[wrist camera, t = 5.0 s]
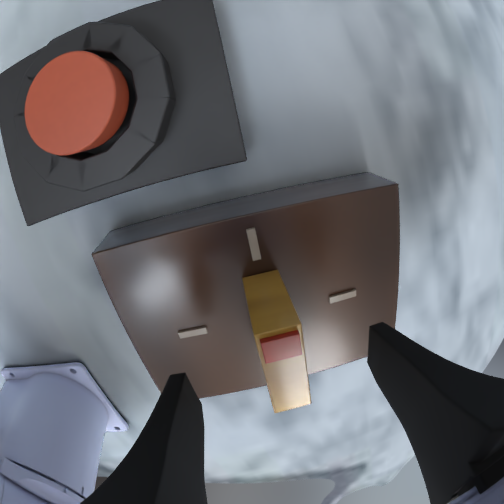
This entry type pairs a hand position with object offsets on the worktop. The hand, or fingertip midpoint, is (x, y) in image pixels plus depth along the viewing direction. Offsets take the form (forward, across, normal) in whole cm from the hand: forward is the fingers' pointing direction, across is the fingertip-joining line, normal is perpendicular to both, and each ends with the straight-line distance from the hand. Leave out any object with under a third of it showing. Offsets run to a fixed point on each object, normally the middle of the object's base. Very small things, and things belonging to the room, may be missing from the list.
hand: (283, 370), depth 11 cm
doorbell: (+7, +5, -11) cm, 14 cm away
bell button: (+3, +5, -11) cm, 12 cm away
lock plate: (+7, 0, 0) cm, 7 cm away
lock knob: (+4, 0, 0) cm, 4 cm away
